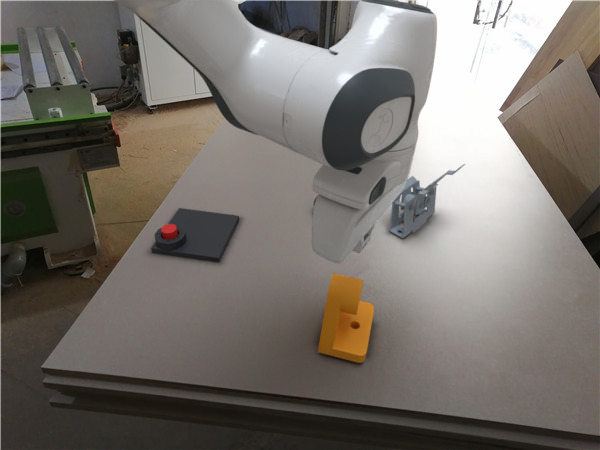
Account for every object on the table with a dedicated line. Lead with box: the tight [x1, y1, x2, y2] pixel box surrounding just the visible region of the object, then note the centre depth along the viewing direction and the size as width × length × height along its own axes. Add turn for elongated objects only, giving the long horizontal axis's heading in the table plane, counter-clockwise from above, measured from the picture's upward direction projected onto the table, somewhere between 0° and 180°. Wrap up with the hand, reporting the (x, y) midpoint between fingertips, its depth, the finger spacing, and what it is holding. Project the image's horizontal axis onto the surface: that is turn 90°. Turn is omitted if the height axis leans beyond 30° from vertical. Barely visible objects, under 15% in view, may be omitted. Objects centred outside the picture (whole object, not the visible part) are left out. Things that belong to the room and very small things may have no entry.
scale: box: [150, 207, 240, 263], centre depth 85 cm, size 14×14×3 cm
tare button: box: [160, 223, 178, 240], centre depth 81 cm, size 3×3×2 cm
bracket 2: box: [388, 163, 466, 239], centre depth 86 cm, size 13×10×15 cm
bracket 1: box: [317, 272, 375, 364], centre depth 63 cm, size 11×7×12 cm, turn 164°
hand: (359, 245), depth 55 cm, fingers closed
